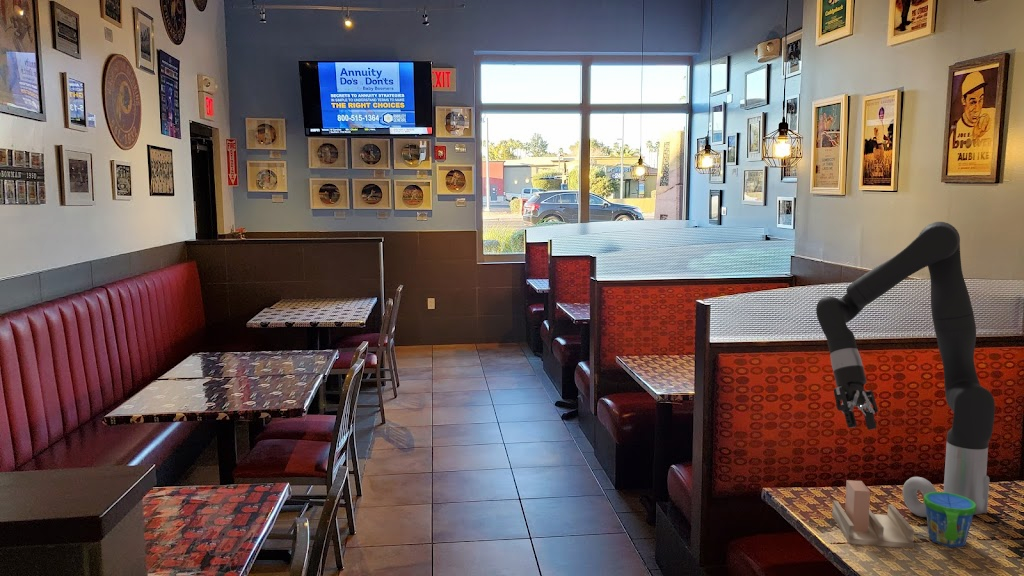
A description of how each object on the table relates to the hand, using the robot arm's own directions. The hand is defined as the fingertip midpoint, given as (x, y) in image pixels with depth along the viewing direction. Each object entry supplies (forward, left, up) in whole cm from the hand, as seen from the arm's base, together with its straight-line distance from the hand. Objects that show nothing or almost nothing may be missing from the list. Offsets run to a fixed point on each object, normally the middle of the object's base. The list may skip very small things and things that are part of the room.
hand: (862, 428), depth 195 cm
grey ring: (-14, +4, -21) cm, 26 cm away
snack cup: (-15, +19, -21) cm, 32 cm away
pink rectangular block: (+5, +16, -20) cm, 26 cm away
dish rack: (+1, +16, -21) cm, 26 cm away
